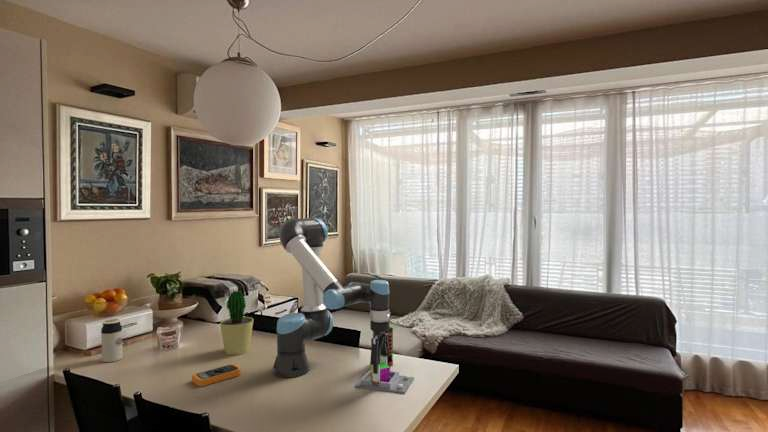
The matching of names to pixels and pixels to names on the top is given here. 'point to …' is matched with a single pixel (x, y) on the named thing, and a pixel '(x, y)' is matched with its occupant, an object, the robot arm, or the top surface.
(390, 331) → the motor
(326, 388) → the top surface
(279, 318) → the robot arm
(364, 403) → the top surface
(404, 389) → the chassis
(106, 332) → the travel mug
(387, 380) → the puzzle toy
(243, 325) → the potted cactus
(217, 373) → the multimeter
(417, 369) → the top surface
